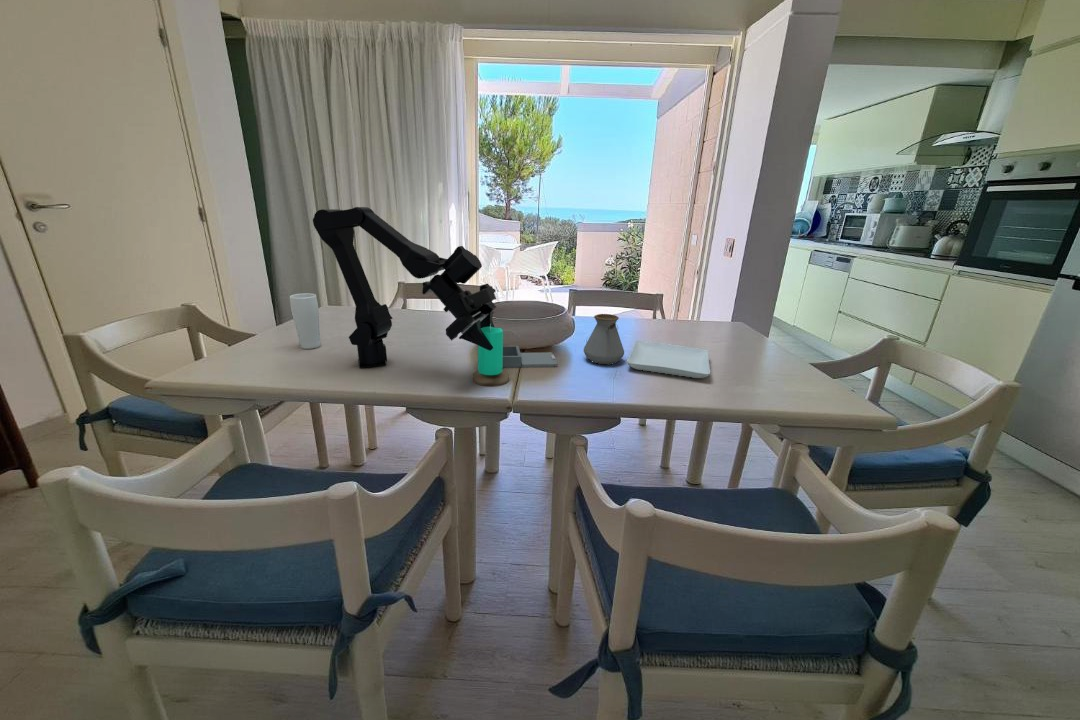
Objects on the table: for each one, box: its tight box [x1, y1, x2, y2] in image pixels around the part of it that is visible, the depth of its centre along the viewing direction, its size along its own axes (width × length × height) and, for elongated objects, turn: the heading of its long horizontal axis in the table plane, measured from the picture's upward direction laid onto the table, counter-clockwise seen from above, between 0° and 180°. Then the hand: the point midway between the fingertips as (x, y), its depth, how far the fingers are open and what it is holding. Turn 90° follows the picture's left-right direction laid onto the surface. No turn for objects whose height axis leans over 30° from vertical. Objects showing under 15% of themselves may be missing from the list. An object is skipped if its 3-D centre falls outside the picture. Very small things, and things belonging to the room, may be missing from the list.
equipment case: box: [503, 345, 559, 368], centre depth 119 cm, size 19×10×3 cm, turn 98°
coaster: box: [472, 369, 510, 387], centre depth 106 cm, size 9×9×1 cm
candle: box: [477, 324, 504, 375], centre depth 104 cm, size 6×6×12 cm
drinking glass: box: [289, 292, 322, 350], centre depth 122 cm, size 7×7×15 cm
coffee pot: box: [583, 313, 625, 365], centre depth 115 cm, size 21×12×15 cm, turn 177°
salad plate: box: [626, 339, 711, 379], centre depth 121 cm, size 21×21×3 cm
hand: (495, 345), depth 103 cm, fingers closed on candle, 5 cm apart
